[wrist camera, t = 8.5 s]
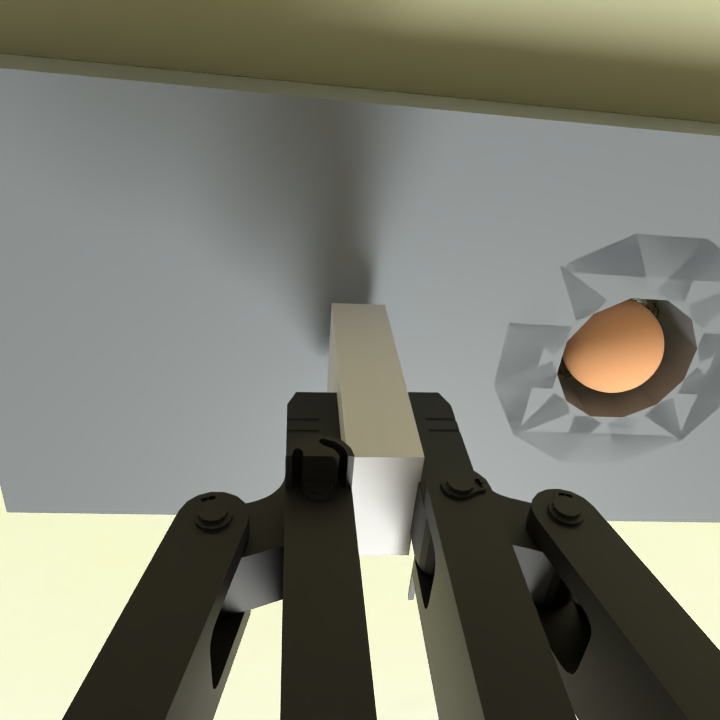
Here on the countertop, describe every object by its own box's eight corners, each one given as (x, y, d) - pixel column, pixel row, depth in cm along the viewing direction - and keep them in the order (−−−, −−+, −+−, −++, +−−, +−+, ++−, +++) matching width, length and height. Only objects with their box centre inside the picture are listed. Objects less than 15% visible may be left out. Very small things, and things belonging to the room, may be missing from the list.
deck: (33, 464, 24) (7, 512, 21) (-53, 48, 16) (-106, 57, 14) (726, 480, 27) (762, 523, 25) (900, 140, 20) (973, 160, 18)
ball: (635, 283, 19) (659, 283, 21) (535, 313, 21) (568, 309, 23) (664, 388, 19) (685, 374, 21) (561, 408, 21) (591, 393, 23)
